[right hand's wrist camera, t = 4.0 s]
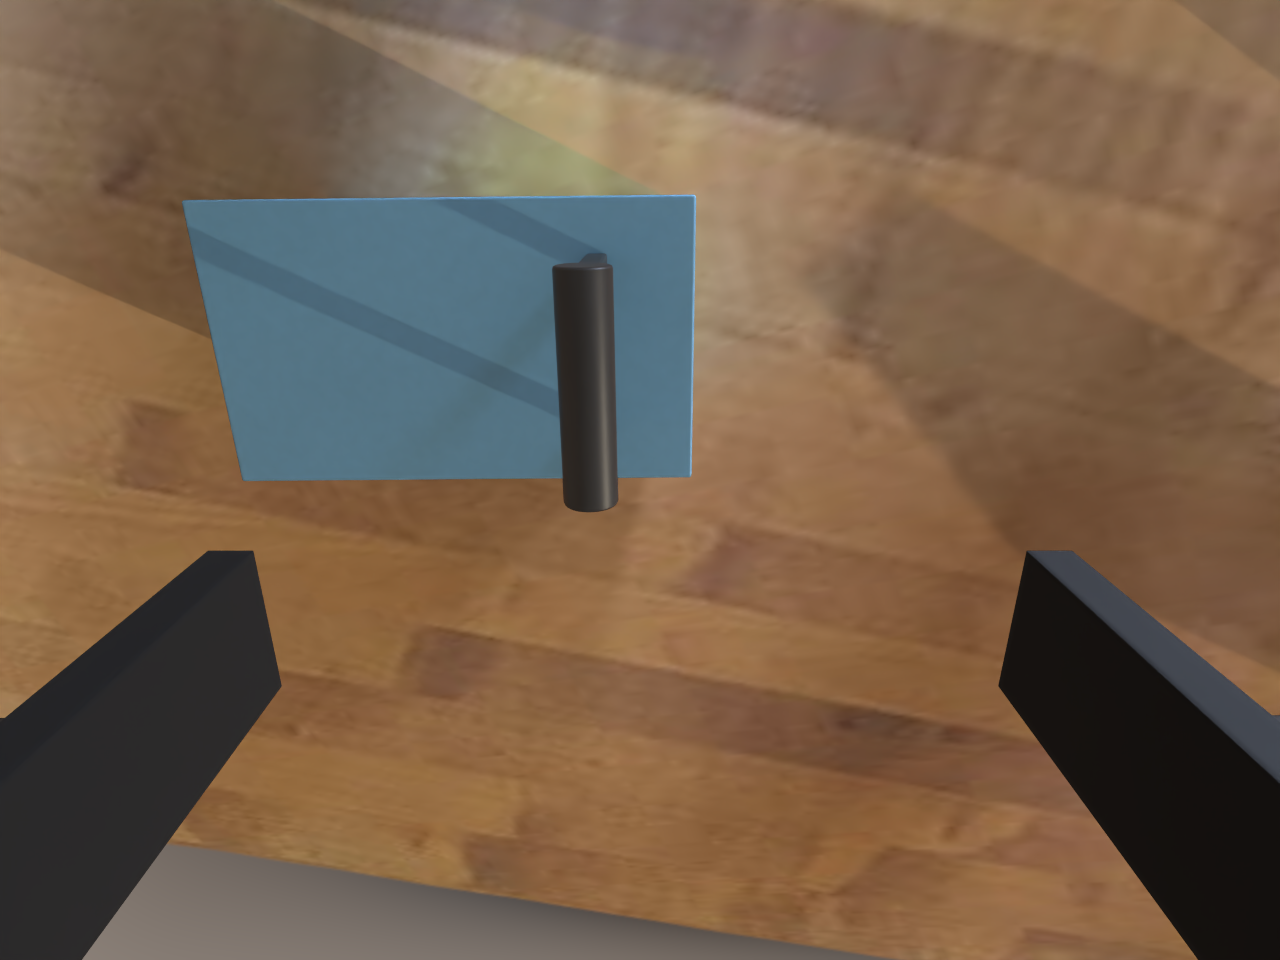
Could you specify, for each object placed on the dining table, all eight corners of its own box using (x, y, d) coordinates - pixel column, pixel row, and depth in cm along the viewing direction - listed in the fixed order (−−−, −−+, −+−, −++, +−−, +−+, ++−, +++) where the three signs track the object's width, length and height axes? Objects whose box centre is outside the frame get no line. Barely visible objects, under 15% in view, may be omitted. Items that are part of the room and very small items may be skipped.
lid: (694, 194, 25) (716, 194, 17) (689, 467, 28) (706, 565, 21) (199, 199, 25) (10, 201, 17) (256, 471, 28) (118, 569, 21)
